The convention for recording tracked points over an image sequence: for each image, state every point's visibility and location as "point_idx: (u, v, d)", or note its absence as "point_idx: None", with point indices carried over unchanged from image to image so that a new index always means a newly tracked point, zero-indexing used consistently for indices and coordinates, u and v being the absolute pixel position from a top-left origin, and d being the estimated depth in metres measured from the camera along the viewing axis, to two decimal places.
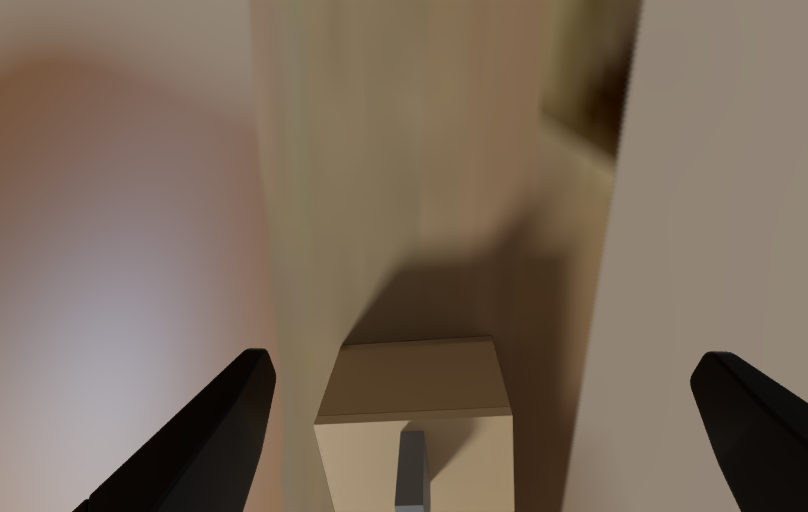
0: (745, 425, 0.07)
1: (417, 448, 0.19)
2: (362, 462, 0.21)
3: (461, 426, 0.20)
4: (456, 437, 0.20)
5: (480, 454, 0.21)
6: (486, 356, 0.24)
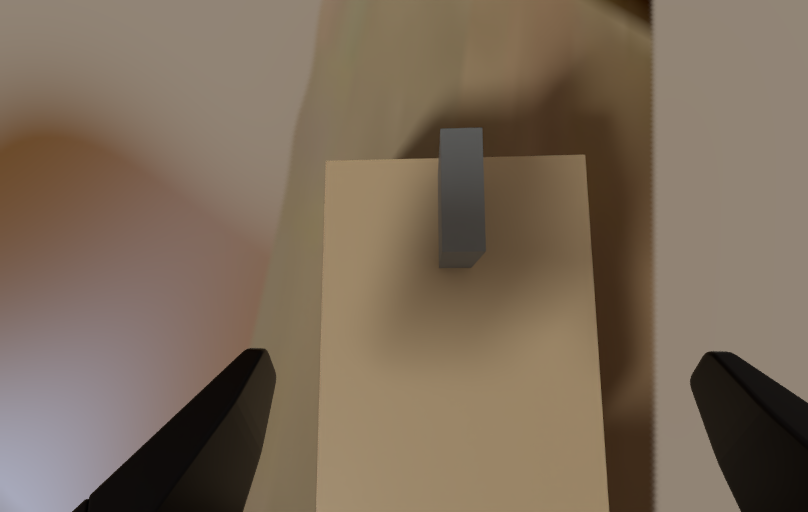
0: (745, 425, 0.07)
1: None
2: (379, 226, 0.16)
3: (518, 169, 0.15)
4: (512, 187, 0.15)
5: (544, 218, 0.15)
6: None
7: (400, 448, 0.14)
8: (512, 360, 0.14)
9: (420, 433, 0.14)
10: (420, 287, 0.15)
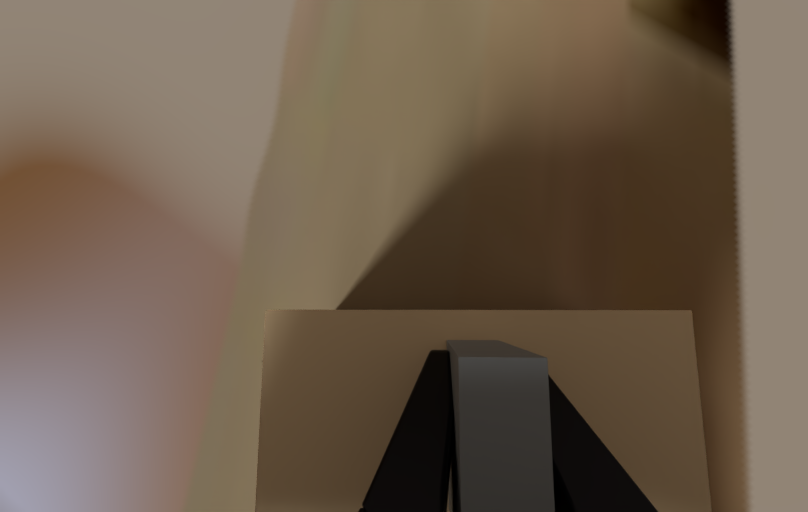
0: None
1: (492, 343, 0.08)
2: (349, 427, 0.09)
3: (580, 333, 0.09)
4: (570, 364, 0.09)
5: (624, 421, 0.09)
6: None
7: None
8: None
9: None
10: None
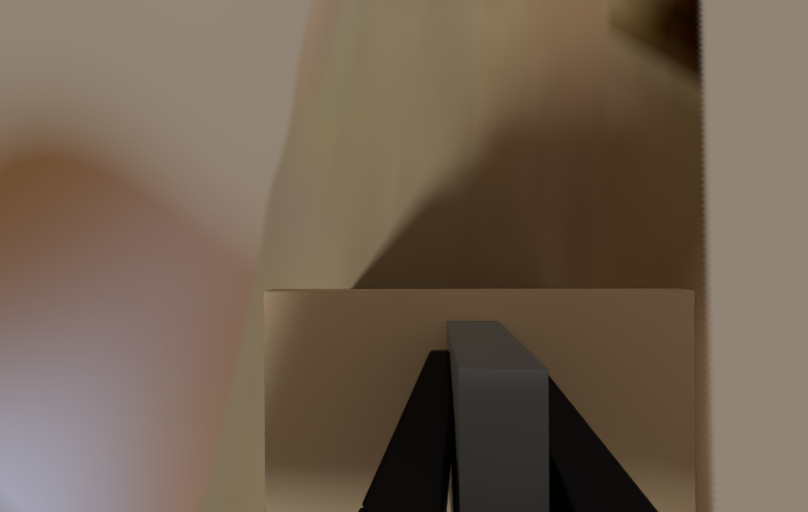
0: None
1: (492, 329, 0.08)
2: (351, 404, 0.10)
3: (580, 314, 0.09)
4: (568, 344, 0.09)
5: (619, 398, 0.09)
6: None
7: None
8: None
9: None
10: None
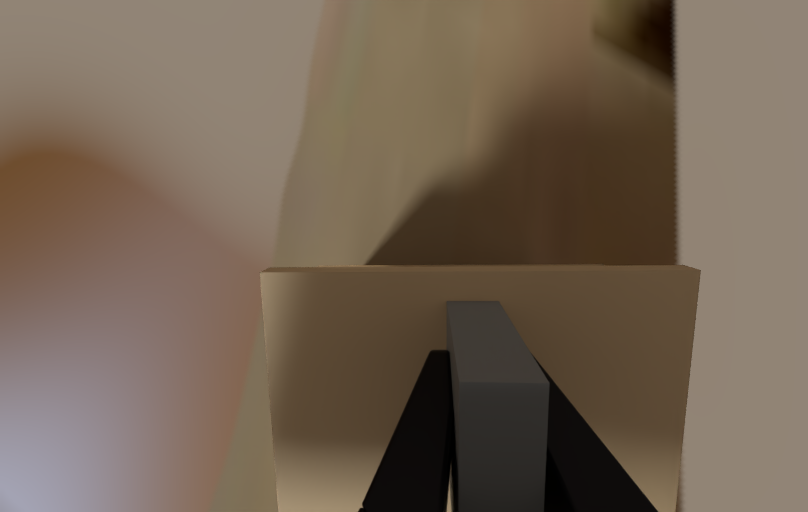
0: None
1: (492, 315, 0.08)
2: (353, 380, 0.10)
3: (582, 294, 0.09)
4: (568, 323, 0.09)
5: (616, 373, 0.09)
6: None
7: None
8: None
9: None
10: None
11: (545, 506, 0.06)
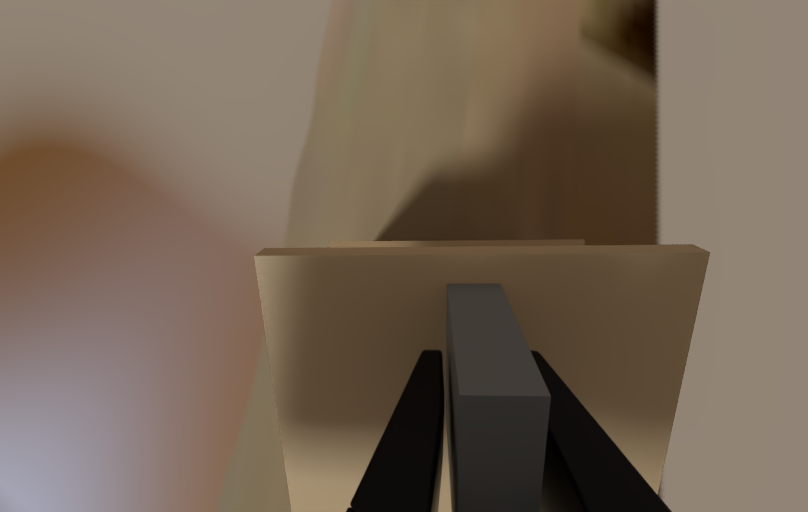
0: None
1: (493, 303, 0.08)
2: (353, 359, 0.10)
3: (586, 276, 0.09)
4: (570, 305, 0.09)
5: (614, 352, 0.10)
6: None
7: None
8: None
9: None
10: None
11: (556, 506, 0.06)
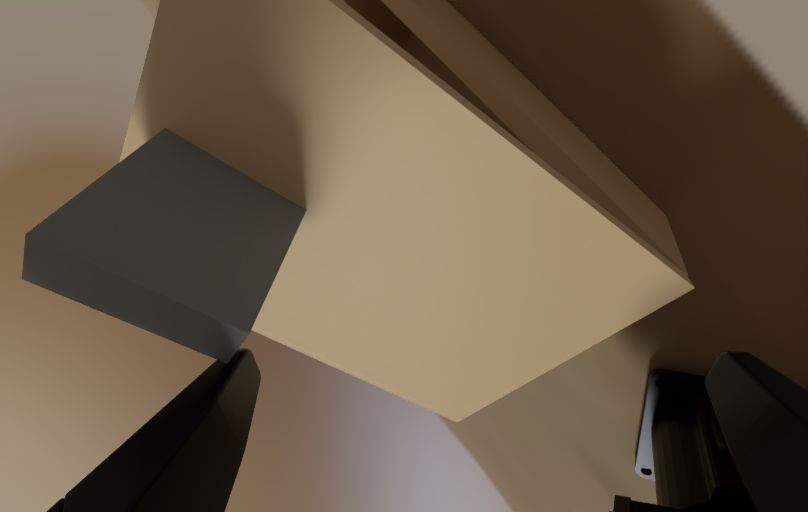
0: (763, 425, 0.07)
1: None
2: None
3: (180, 50, 0.08)
4: (209, 83, 0.08)
5: (285, 74, 0.08)
6: None
7: (439, 357, 0.14)
8: (443, 241, 0.11)
9: (440, 341, 0.13)
10: (299, 266, 0.12)
11: None
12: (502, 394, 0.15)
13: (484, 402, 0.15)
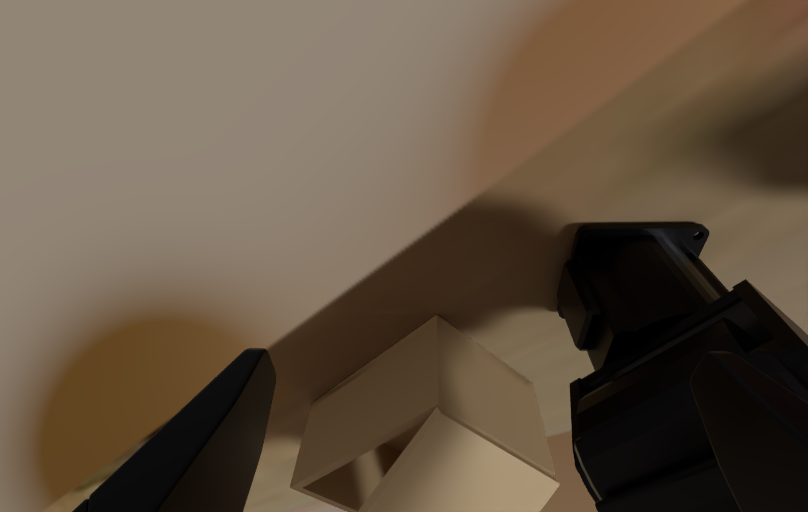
0: (745, 425, 0.07)
1: None
2: None
3: None
4: None
5: None
6: None
7: None
8: None
9: None
10: None
11: None
12: (531, 466, 0.23)
13: (538, 475, 0.23)
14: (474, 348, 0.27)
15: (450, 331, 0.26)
